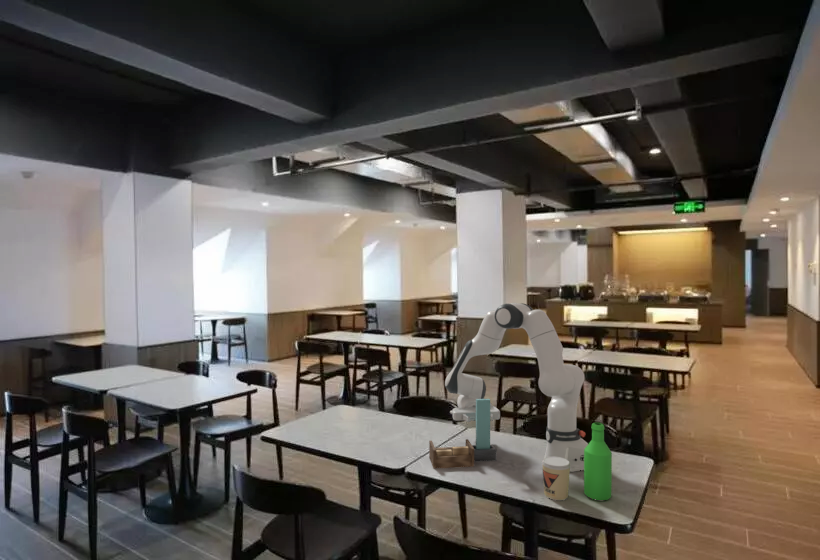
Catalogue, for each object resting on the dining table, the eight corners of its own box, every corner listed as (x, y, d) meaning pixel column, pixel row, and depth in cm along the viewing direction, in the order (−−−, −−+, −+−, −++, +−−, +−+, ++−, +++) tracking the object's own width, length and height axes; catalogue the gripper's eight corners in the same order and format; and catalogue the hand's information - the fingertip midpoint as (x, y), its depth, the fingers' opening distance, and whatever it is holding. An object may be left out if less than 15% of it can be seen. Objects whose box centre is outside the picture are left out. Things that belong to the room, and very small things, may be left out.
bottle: (586, 488, 174) (587, 418, 174) (613, 494, 170) (613, 422, 170) (581, 498, 167) (582, 425, 166) (608, 504, 162) (609, 429, 162)
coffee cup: (536, 492, 171) (536, 458, 171) (557, 487, 175) (557, 454, 175) (554, 504, 163) (554, 468, 162) (576, 498, 167) (576, 463, 166)
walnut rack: (467, 459, 201) (467, 439, 201) (474, 470, 190) (474, 448, 190) (429, 461, 200) (429, 440, 200) (433, 472, 189) (433, 450, 189)
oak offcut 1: (451, 463, 194) (451, 449, 194) (451, 464, 192) (451, 451, 192) (436, 463, 193) (436, 449, 193) (436, 465, 191) (436, 451, 191)
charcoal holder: (492, 459, 202) (492, 444, 202) (496, 464, 197) (496, 449, 197) (469, 459, 201) (469, 445, 201) (473, 465, 196) (473, 450, 196)
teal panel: (489, 457, 200) (489, 398, 200) (490, 458, 198) (490, 399, 198) (475, 457, 200) (475, 399, 199) (476, 459, 198) (476, 400, 197)
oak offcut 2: (467, 462, 195) (467, 446, 194) (468, 464, 193) (468, 447, 193) (452, 463, 194) (452, 446, 194) (453, 464, 192) (453, 448, 192)
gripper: (449, 403, 215) (455, 412, 201) (494, 402, 217) (503, 411, 204) (449, 417, 215) (455, 427, 202) (494, 416, 218) (503, 426, 204)
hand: (480, 419), depth 203 cm, fingers open, 8 cm apart
